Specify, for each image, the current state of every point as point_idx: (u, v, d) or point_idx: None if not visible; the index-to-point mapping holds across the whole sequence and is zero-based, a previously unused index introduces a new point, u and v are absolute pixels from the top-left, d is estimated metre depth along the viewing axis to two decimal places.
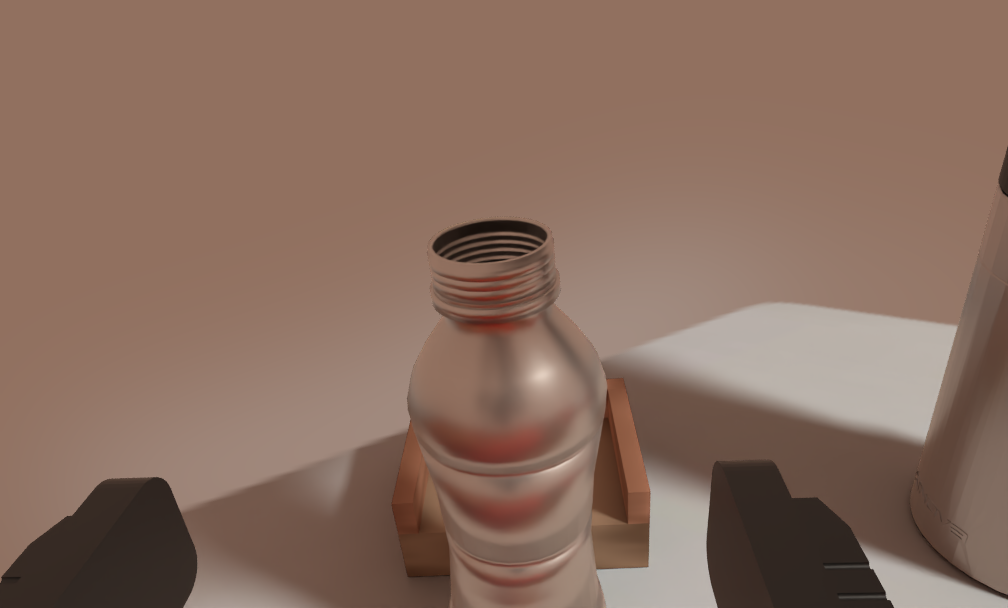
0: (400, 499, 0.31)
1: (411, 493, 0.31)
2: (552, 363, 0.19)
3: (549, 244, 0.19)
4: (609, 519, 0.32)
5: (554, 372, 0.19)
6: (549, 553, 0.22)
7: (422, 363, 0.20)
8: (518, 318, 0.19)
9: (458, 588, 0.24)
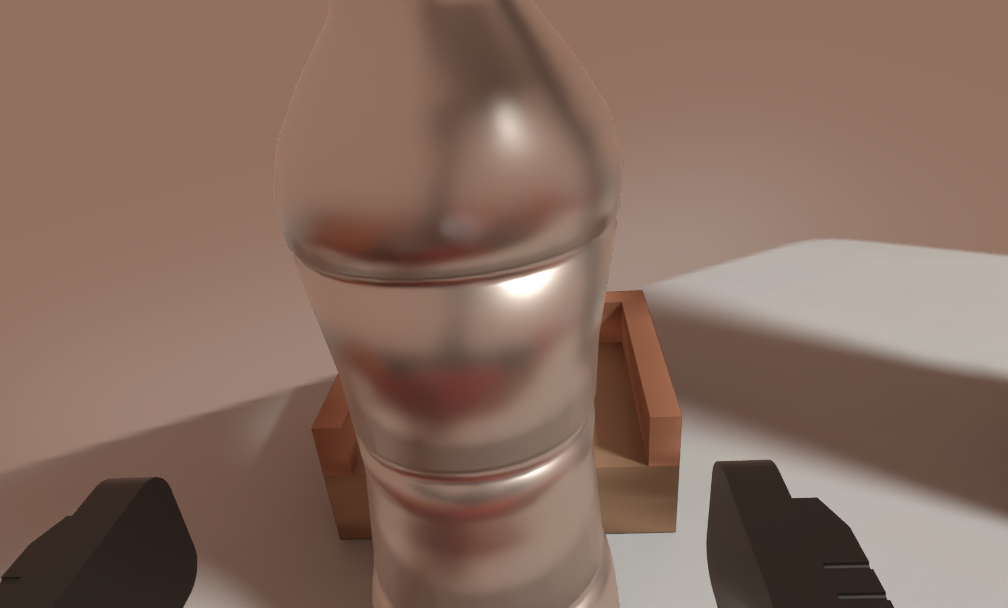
0: (325, 423, 0.22)
1: (342, 416, 0.22)
2: (520, 67, 0.10)
3: None
4: (621, 460, 0.22)
5: (525, 89, 0.10)
6: (518, 461, 0.13)
7: (292, 96, 0.11)
8: None
9: (376, 529, 0.15)
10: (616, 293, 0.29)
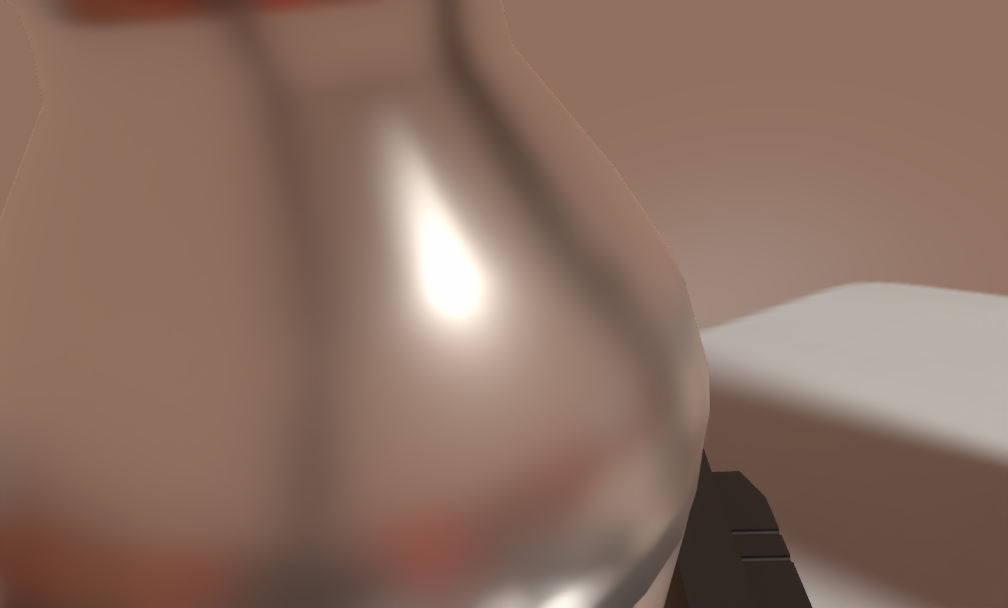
0: None
1: None
2: (485, 240, 0.04)
3: None
4: None
5: (500, 289, 0.04)
6: None
7: None
8: None
9: None
10: None
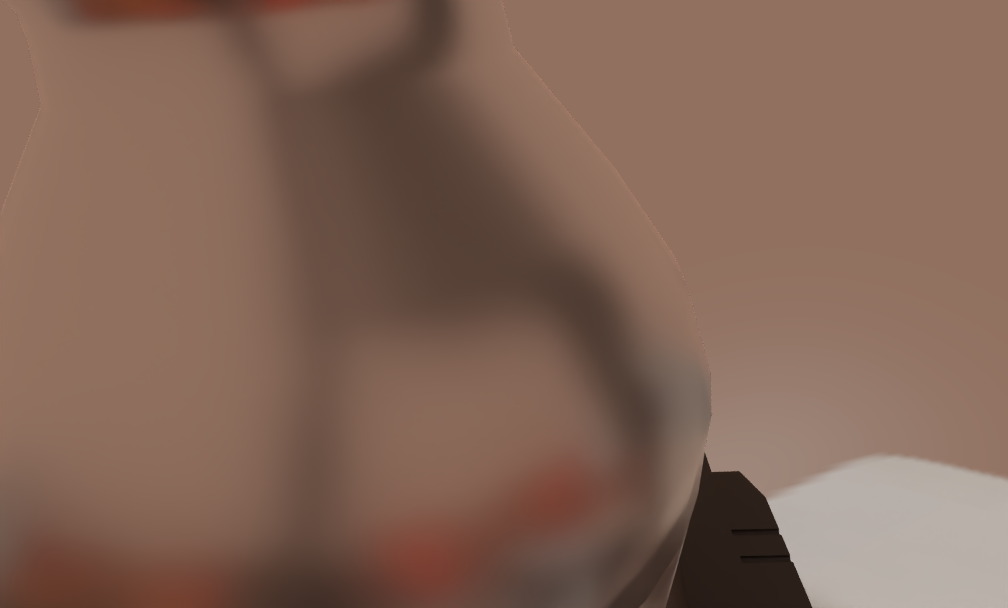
0: None
1: None
2: (487, 245, 0.04)
3: None
4: None
5: (502, 292, 0.04)
6: None
7: None
8: None
9: None
10: None
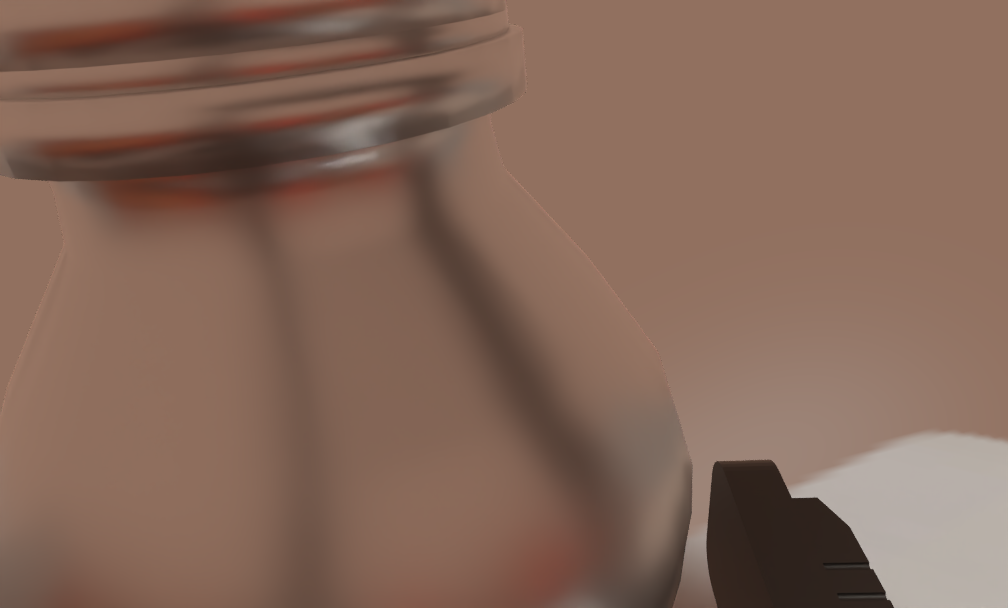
0: None
1: None
2: (477, 389, 0.04)
3: None
4: None
5: (490, 430, 0.04)
6: None
7: None
8: (286, 153, 0.04)
9: None
10: None
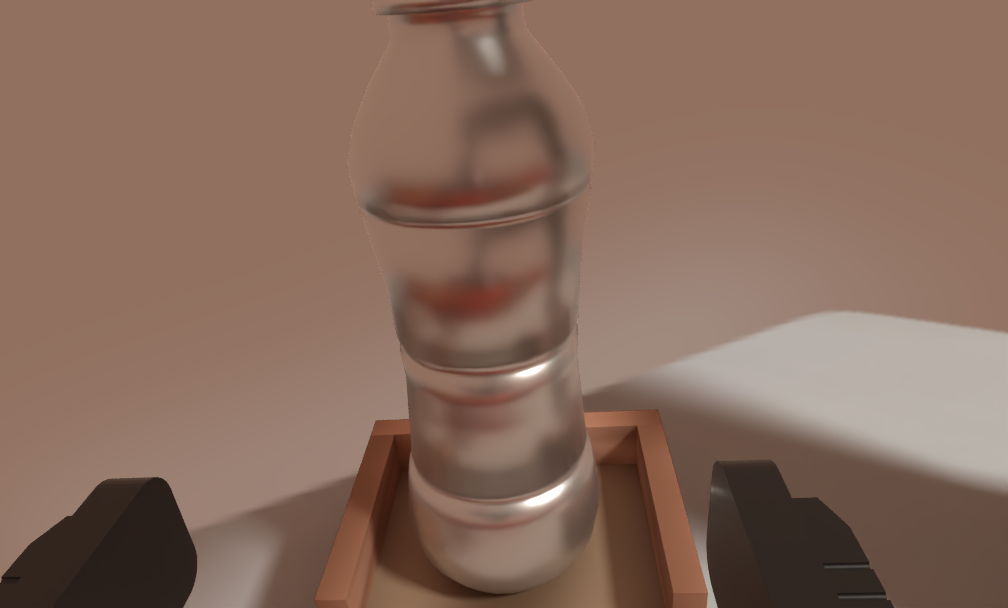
0: (328, 592, 0.21)
1: (346, 583, 0.21)
2: (521, 79, 0.15)
3: None
4: None
5: (525, 93, 0.15)
6: (522, 360, 0.18)
7: (363, 99, 0.16)
8: (476, 6, 0.14)
9: (415, 422, 0.20)
10: (631, 414, 0.28)
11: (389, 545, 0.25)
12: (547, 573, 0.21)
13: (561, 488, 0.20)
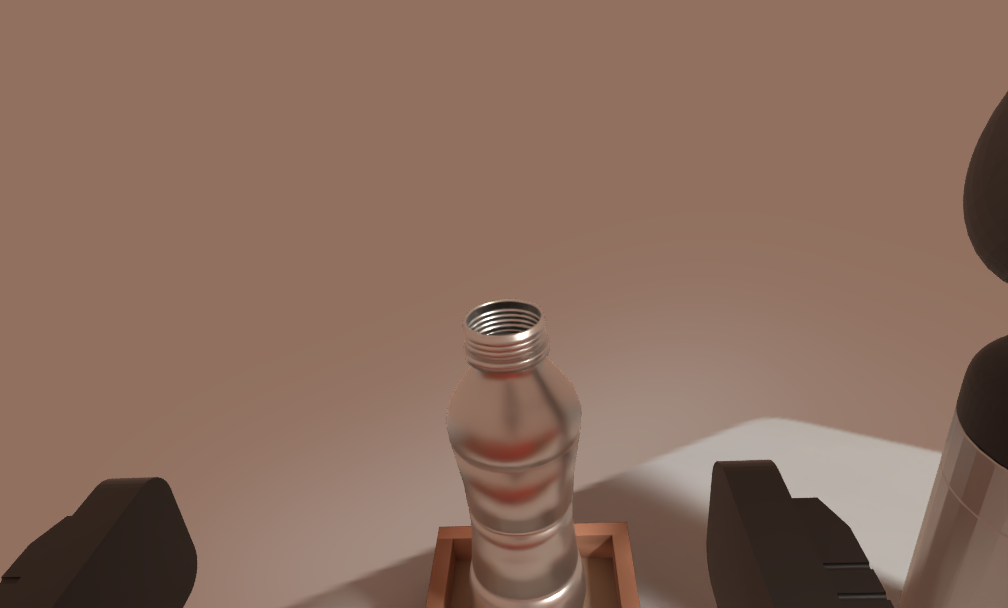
0: None
1: None
2: (543, 399, 0.30)
3: (541, 322, 0.29)
4: None
5: (544, 405, 0.30)
6: (541, 527, 0.32)
7: (457, 396, 0.31)
8: (521, 370, 0.29)
9: (477, 553, 0.34)
10: (608, 525, 0.42)
11: None
12: None
13: (562, 592, 0.35)
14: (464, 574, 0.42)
